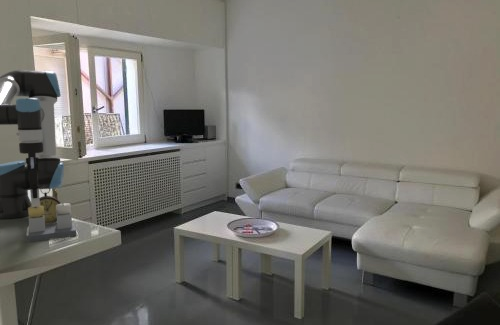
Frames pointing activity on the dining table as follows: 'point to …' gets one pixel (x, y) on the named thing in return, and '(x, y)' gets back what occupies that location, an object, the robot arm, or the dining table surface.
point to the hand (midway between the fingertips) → (35, 206)
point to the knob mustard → (36, 211)
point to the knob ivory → (63, 208)
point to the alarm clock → (49, 207)
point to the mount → (50, 228)
